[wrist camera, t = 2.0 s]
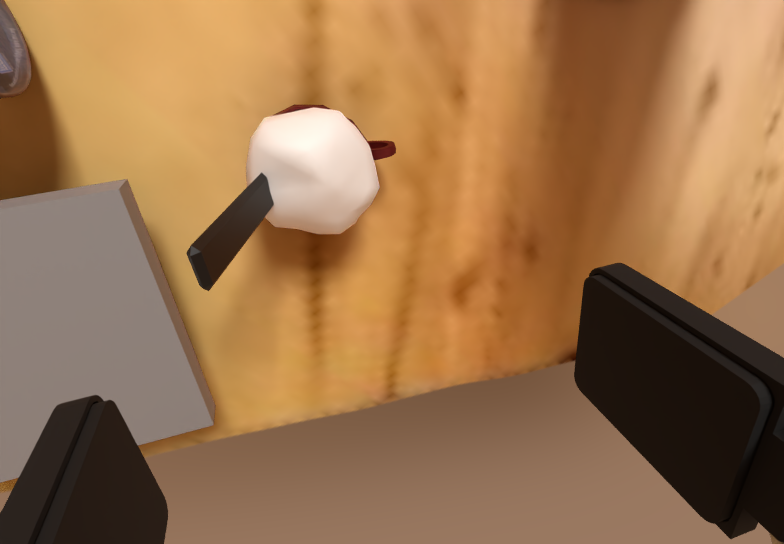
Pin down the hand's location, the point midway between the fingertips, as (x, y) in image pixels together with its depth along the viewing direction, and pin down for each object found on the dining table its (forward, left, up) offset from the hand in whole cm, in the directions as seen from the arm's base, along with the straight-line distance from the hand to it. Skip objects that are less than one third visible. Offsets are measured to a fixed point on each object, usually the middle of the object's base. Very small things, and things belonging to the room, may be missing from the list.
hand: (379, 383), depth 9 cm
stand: (+15, +6, -19) cm, 25 cm away
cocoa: (0, 0, -20) cm, 20 cm away
